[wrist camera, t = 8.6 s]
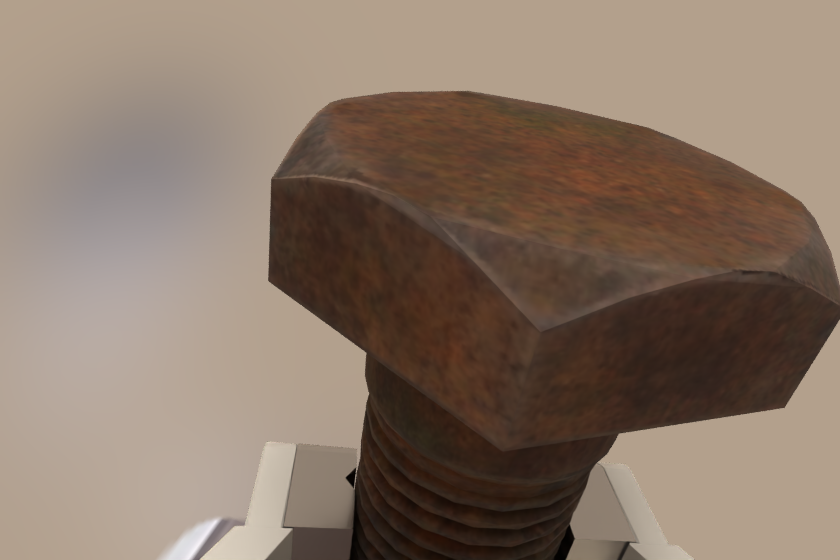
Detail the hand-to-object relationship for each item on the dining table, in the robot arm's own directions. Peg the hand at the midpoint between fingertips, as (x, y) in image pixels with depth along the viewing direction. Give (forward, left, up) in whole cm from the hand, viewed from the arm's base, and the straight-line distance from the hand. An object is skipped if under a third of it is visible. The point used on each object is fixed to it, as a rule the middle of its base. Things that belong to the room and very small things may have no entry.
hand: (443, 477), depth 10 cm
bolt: (0, +1, -9) cm, 9 cm away
